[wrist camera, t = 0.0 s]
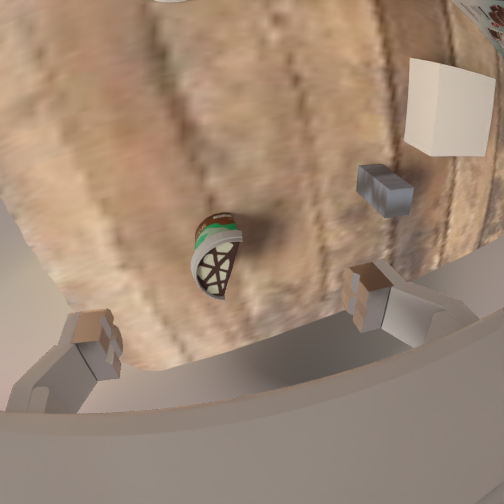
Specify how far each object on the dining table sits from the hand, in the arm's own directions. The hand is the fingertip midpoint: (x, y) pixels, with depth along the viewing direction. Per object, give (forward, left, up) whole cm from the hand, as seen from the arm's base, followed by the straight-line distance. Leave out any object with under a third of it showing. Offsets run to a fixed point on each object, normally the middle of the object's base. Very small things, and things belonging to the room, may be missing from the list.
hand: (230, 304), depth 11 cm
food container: (+22, 0, -39) cm, 45 cm away
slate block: (+15, +30, -39) cm, 51 cm away
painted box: (0, +45, -39) cm, 60 cm away
